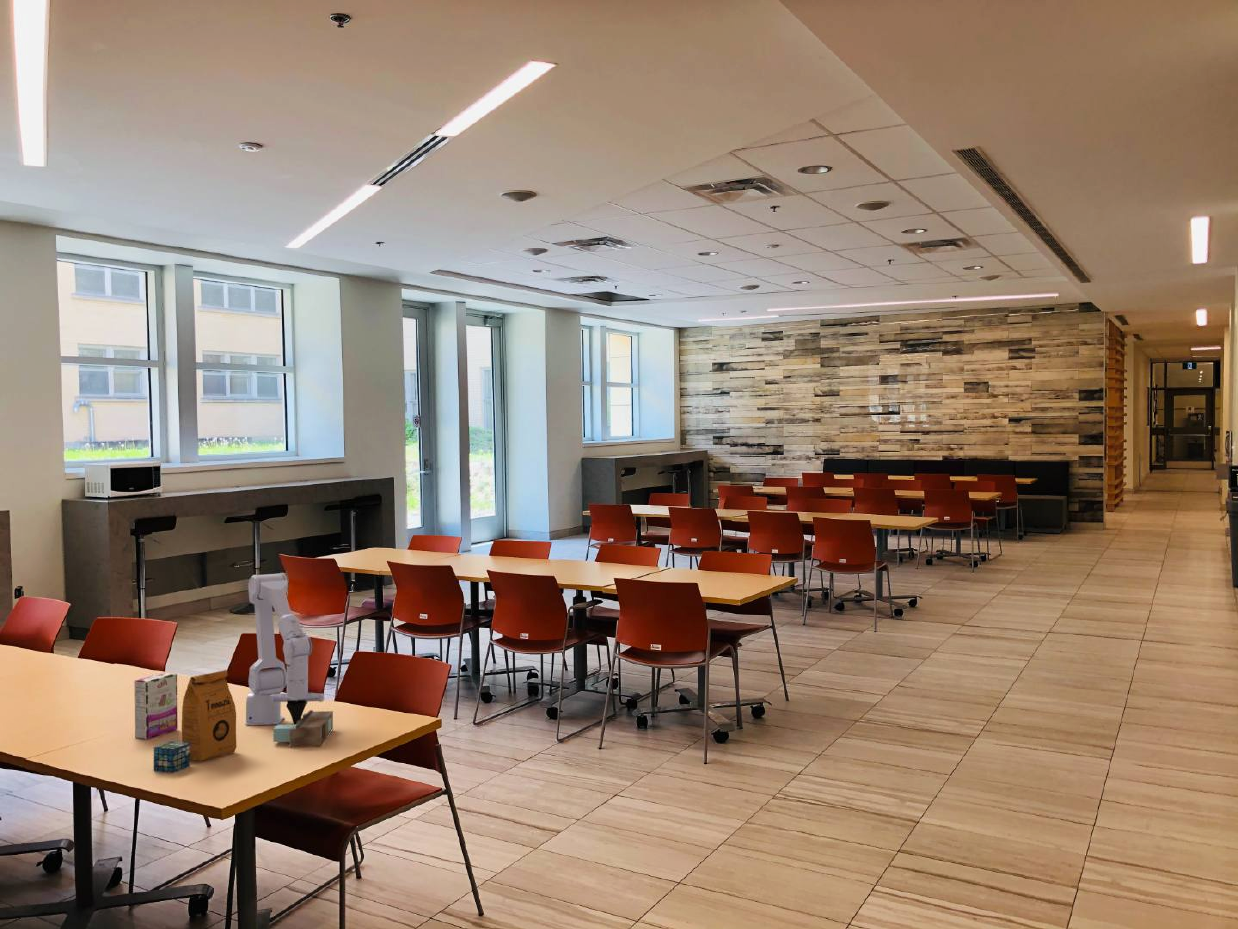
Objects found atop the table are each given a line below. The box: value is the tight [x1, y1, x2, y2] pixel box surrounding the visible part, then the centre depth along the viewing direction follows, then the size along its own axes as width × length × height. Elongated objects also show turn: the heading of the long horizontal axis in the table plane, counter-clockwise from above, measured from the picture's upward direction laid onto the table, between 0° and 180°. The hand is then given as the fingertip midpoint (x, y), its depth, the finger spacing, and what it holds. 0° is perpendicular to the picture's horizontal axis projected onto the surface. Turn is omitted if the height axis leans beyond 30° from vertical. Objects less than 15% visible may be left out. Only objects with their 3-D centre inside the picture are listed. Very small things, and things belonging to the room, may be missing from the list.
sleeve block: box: [289, 709, 334, 748], centre depth 270 cm, size 8×17×6 cm, turn 5°
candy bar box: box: [134, 671, 178, 740], centre depth 274 cm, size 11×5×16 cm, turn 160°
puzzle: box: [153, 740, 191, 774], centre depth 242 cm, size 6×6×6 cm
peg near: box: [272, 724, 296, 743], centre depth 265 cm, size 8×4×4 cm, turn 95°
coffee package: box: [181, 669, 238, 761], centre depth 253 cm, size 10×12×22 cm
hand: (296, 727), depth 273 cm, fingers closed
